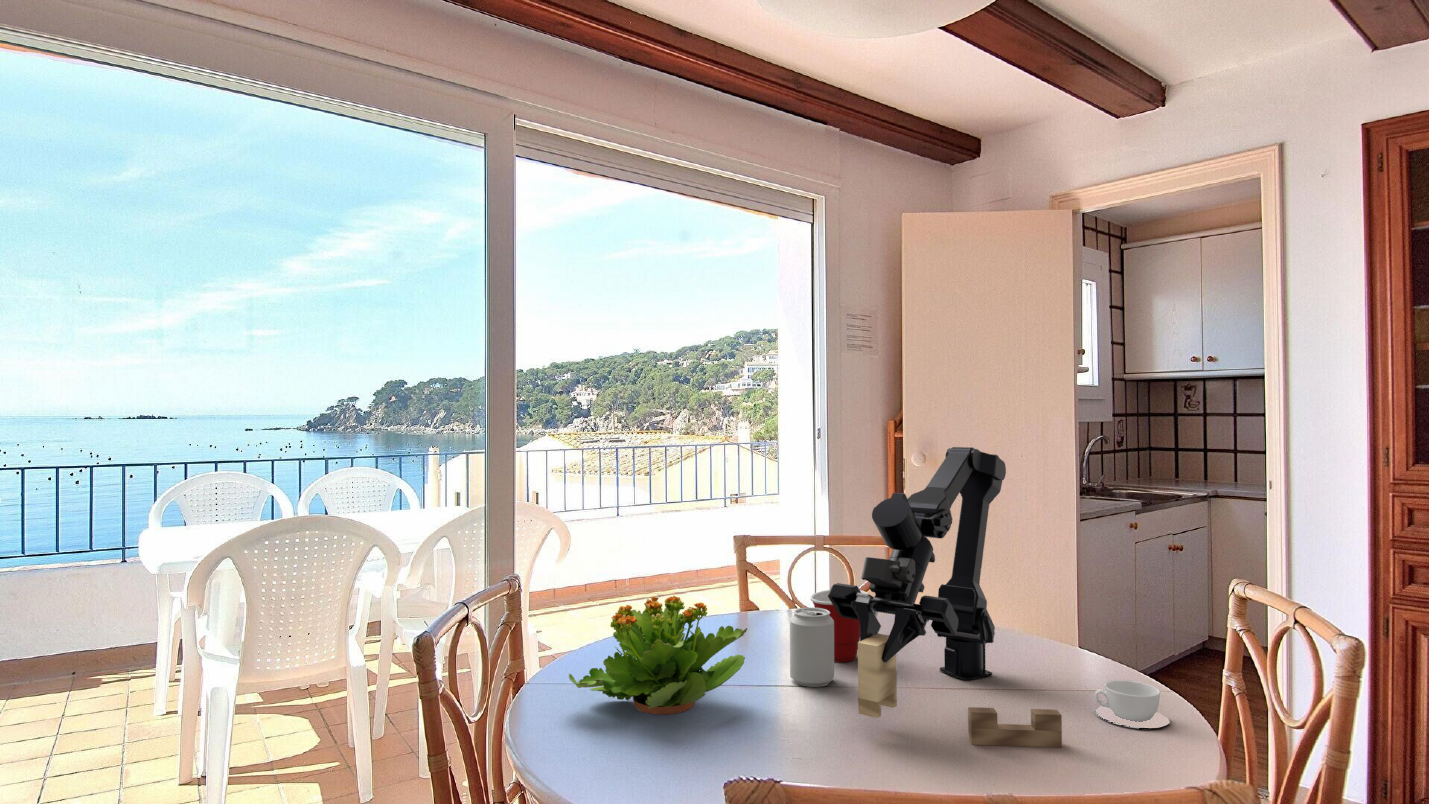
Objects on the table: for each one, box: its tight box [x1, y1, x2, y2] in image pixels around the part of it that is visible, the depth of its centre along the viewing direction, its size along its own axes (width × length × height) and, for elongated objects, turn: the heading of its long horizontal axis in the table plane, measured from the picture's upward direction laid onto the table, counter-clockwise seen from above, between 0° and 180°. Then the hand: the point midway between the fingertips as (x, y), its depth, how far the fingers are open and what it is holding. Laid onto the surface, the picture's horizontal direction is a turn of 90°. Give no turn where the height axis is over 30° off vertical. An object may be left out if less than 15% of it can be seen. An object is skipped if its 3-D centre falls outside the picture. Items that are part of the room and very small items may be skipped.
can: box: [789, 607, 835, 688], centre depth 141 cm, size 8×8×12 cm
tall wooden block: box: [857, 632, 898, 719], centre depth 118 cm, size 6×3×10 cm, turn 142°
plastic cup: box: [809, 589, 869, 663], centre depth 154 cm, size 11×11×12 cm
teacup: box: [1094, 679, 1161, 729], centre depth 123 cm, size 10×10×5 cm
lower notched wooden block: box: [967, 706, 1063, 748], centre depth 114 cm, size 12×2×4 cm, turn 85°
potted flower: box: [568, 595, 748, 716], centre depth 130 cm, size 25×24×18 cm
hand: (872, 658), depth 117 cm, fingers closed on tall wooden block, 3 cm apart
